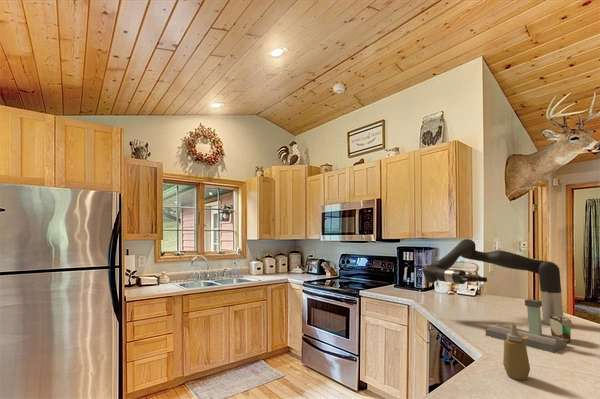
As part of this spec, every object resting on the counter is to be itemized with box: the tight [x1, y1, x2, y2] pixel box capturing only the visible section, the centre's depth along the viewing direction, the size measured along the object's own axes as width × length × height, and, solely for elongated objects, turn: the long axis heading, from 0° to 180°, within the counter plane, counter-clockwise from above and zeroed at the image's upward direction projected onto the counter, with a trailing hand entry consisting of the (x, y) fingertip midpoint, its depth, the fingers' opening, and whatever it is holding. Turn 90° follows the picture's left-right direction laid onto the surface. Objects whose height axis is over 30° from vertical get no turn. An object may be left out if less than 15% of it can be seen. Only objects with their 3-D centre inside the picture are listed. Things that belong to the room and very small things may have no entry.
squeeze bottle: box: [502, 323, 531, 381], centre depth 119 cm, size 8×8×18 cm
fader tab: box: [524, 298, 543, 336], centre depth 153 cm, size 4×5×16 cm
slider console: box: [485, 323, 568, 354], centre depth 156 cm, size 14×28×4 cm, turn 33°
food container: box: [549, 315, 573, 344], centre depth 156 cm, size 12×6×10 cm, turn 168°
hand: (486, 279), depth 173 cm, fingers closed
